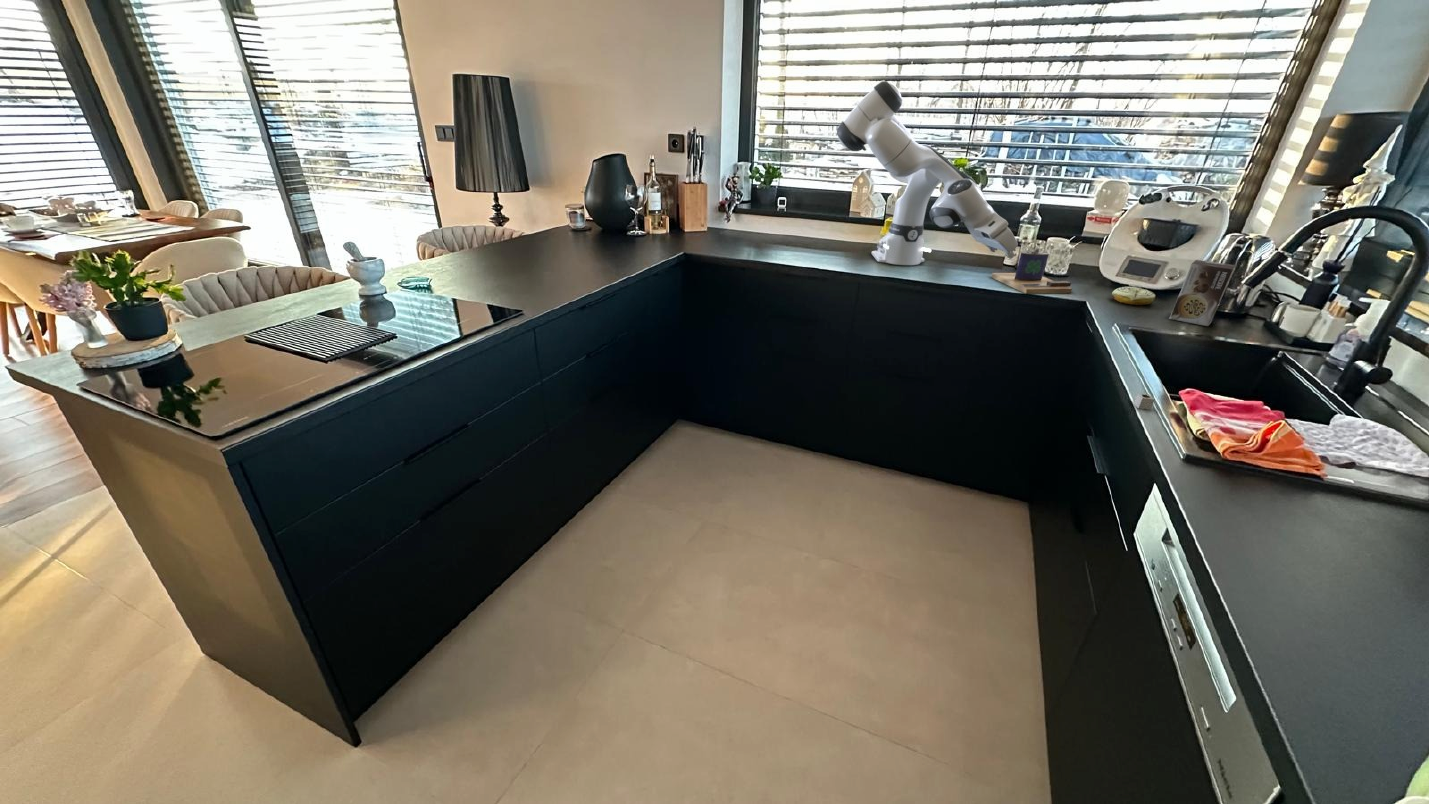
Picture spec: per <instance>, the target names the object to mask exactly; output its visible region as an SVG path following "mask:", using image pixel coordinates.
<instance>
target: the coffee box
mask: <svg viewBox="0 0 1429 804" xmlns="http://www.w3.org/2000/svg"><path fill="white" fill-rule="evenodd" d="M1189 266H1190V267H1189V269H1188V271H1187V275H1186V277H1185V279H1184V281H1183V284H1182V286H1181V290H1180V292H1179V294H1178V296H1177V299H1176V301H1175V303H1174V306H1173V309H1172V310H1171V314H1170V316H1169V318H1168V319H1169V320H1174V321H1178V322H1185V323H1189V324H1195V325H1200V326H1204V327H1209V326H1210V325H1211V323H1212V321H1213V319H1214V317H1215V315H1216V312H1217V310H1218V308H1219V306H1220V302H1221V301H1222V299H1223V296H1224V294H1225V291H1226V289H1227V287H1228V285H1229V283H1230V280H1231V278H1232V276H1233V273H1234V271H1235V270H1236V267H1237V265H1236V264H1230V263H1229V264H1228V263H1223V262H1215V261H1208V260H1202V259H1201V260H1200V259H1195V260H1193V262H1192V263H1191V264H1190V265H1189Z"/></svg>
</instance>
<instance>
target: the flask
mask: <svg viewBox="0 0 1429 804" xmlns="http://www.w3.org/2000/svg"><path fill="white" fill-rule="evenodd" d="M1049 256H1050V254H1049V253H1048V252H1040V248H1039V247H1035V249H1034V250H1032V251H1031V250H1030V251H1028V250H1026V251H1022V252H1021V253H1020V256H1019V260H1018V263H1017V267H1016V270H1015V273H1016V275H1015V280H1025V281H1030V280H1032V281H1036V280H1037V281H1039V280H1041V279H1042V276H1043V277H1044V273H1045V270H1046V267H1047V264H1048V263H1047V262H1048V258H1049Z"/></svg>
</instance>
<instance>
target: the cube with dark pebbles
mask: <svg viewBox="0 0 1429 804" xmlns="http://www.w3.org/2000/svg"><path fill="white" fill-rule="evenodd" d="M1155 400H1156V398H1154V397H1153V396H1152V395H1151V394H1145V393H1137V394H1136V396H1135V399H1134V401H1133V405H1134V406H1135V407H1136V408H1138V409H1140V410H1150V411H1151V409H1152V407H1153V405H1154V403H1155Z"/></svg>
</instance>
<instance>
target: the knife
mask: <svg viewBox="0 0 1429 804" xmlns="http://www.w3.org/2000/svg"><path fill="white" fill-rule="evenodd" d="M1071 285H1072V282H1070V281H1068V280H1053V281H1047V284H1022V286H1024V287H1045V286H1050V287H1056V286H1067V287H1071Z"/></svg>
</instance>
